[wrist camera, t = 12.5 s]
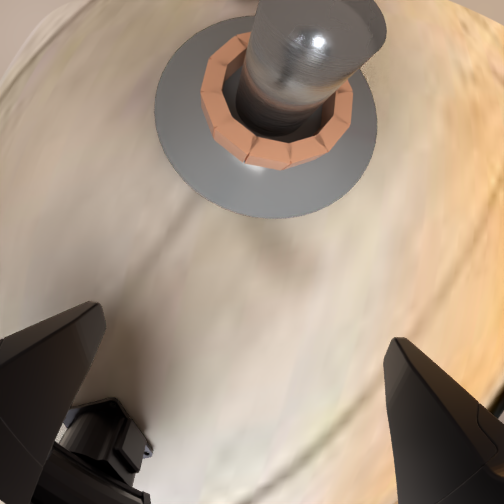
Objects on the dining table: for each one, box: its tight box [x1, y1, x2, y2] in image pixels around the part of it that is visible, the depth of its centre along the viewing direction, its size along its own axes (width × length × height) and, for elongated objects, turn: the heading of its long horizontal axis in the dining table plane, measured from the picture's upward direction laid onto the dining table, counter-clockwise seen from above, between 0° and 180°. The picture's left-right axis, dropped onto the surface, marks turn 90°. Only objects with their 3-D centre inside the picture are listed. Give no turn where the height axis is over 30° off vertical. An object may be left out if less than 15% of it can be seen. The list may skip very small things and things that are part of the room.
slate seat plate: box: [154, 16, 377, 219], centre depth 19 cm, size 16×16×4 cm
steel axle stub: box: [235, 0, 387, 137], centre depth 14 cm, size 5×5×11 cm
